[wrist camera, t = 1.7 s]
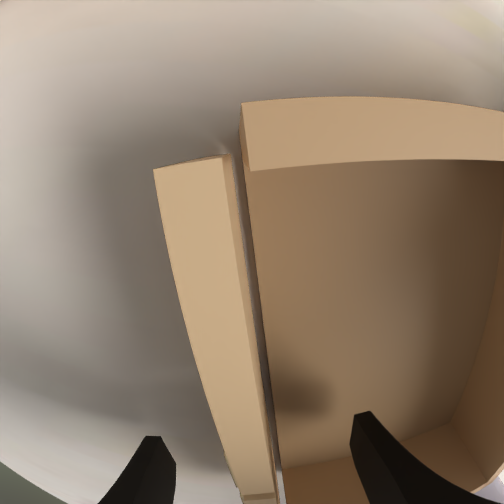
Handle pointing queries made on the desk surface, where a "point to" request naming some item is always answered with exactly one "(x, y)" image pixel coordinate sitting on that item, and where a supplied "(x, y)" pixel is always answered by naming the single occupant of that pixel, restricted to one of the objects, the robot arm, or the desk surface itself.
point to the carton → (379, 282)
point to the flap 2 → (271, 501)
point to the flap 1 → (218, 308)
